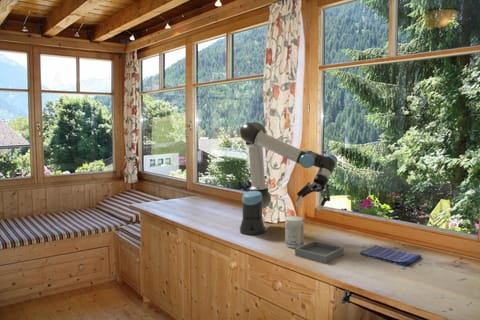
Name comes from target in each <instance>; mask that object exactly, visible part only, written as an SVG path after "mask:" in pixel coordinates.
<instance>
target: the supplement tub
mask: <svg viewBox="0 0 480 320" xmlns="http://www.w3.org/2000/svg"><path fill="white" fill-rule="evenodd" d="M284 224H285V225H284V227H285V229H284V231H285V233H284V235H285V236H284V237H285V239H284V241H285V246H286V247H288V248H292V249H295V248H298V247H300V246H303V245H305V244H304V241H305V240H304V236H305V235H304V231H305V229H304V226H305V224H304V218H303V217H302V216H297V215H296V216H295V215H294V216H292V215H290V216H287V217H285V220H284Z"/></svg>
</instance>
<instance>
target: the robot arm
mask: <svg viewBox="0 0 480 320" xmlns="http://www.w3.org/2000/svg"><path fill="white" fill-rule="evenodd" d="M239 135H240V138H241V139H242V140H243V141H244V142H245V146H246V147H248V156H249V167H250V169H249V170H250V181H251V182H250V183H251V186H250V187H249V189H248V190H249V191H245V192H244V193H243V194H242V196H241V197H242V198H241V201H242V202H241V203H242V205H241V206H242V209H241V210H242V219H241V222H240V227H239V232H240V234H243V235H248V236H254V235H255V236H257V235H262V234H264V233H265V232H266V226H265V223H264V221H263V209H266V208H267V207H268V206H269V205H270V203H271V199H272V195H271V193H270V191H269V187H268V185H267V184H266V177H265V175H266V174H265V165H264V164H265V162H264V151H263V148H264V149H266V150H268V151H271V152H273V153H276V154H277V155H279V156H281V157H284V158H285V159H288V160H290V161H292V162H294V163H297V164H298V165H300V166H301V167H302V168H304V169H310V168H312V167H316V168H318V170H317V172H316V174H315V177H314V179H313V181H312V183H310V182H307V183H306V185H305V186H303V187H302V188H301V189H299V191H298V192H297V193H296V196H297V197H298V198H297V200H296V201H297V202H296V204H295V207H296V208H297V209H299V208H300V206H301V205H302V202H303V201H304V197H307V196H308V195H310V194H311V193H314V192H316V193H320V194H321V197H322V198H321V199H320V201H319V203H318V205H317V208H316V210H317V212H321V210H322V208H323V207H324V206H325V204H326V202H330V201H331V197H330V196H331V194H330V189H331V186H330V184H328V182H329V180H330V177H331V175H332V173H333V172H334V169H335V168H336V165H337V163H338V158H337V156H335V155H334V154H332V153H327V154H325V155H322V154H320V153H317V152H315V151H312V150H310V149H305V150H302V149H300V148H298V147H296V146H293V145H291V144H288V143H286V142H284V141H282V140H280V139H277V138H276V137H273V136H271V135H269V134H267V130H266V127H265V125H264V124H262V123H261V122H257V121H254V122H246V123H244V124H242V125H241V126H240V130H239ZM324 190H325V193H324Z"/></svg>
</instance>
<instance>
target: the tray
mask: <svg viewBox="0 0 480 320" xmlns="http://www.w3.org/2000/svg"><path fill="white" fill-rule="evenodd" d="M344 254H345V247H342V246H339V245H338V246H337V245H334V244H331V243H326V242H321V241H318V240H313V241H309V242H308V243H305V244H304V245H303V246H300V247H298V248H294V255H295V256H297V257H301V258H304V259H308V260H311V261H315V262H319V263H322V264H327V263H329V262H331V261H333V260H335V259H337V258H340V257H341V256H343V255H344Z"/></svg>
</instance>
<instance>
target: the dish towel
mask: <svg viewBox="0 0 480 320" xmlns="http://www.w3.org/2000/svg"><path fill="white" fill-rule="evenodd" d="M359 253H360V254H359V255H361V256H364V257H367V258H369V259H370V258H371V259H373V260H378V261H381V262H385V263H389V264H394V265H397V266H401V267H404V268H405V267H408V266H410V265H411V264H412V263H414V262H416V261H418V260H420V259H421V258H422V255H421V254H416V253H410V252H406V251H401V250H396V249H391V248H387V247H383V246H380V245H378V244H377V245H376V244H375V245H373V246H371V247H369V248H368V249H366V250H363V251H362V250H361V251H359Z"/></svg>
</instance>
